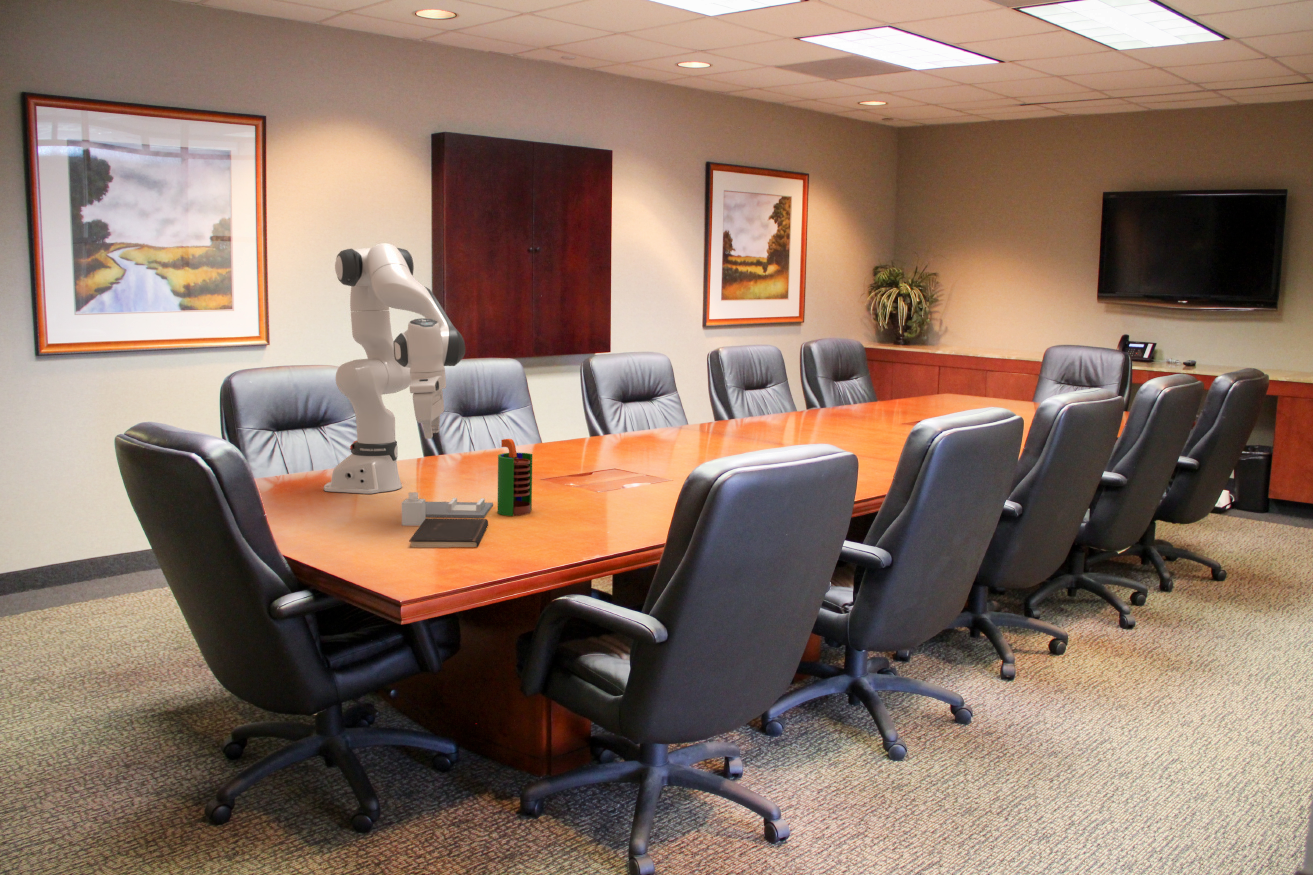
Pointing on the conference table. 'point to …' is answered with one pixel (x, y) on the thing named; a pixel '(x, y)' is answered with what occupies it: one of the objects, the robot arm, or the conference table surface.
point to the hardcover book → (449, 533)
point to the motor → (514, 481)
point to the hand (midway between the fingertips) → (432, 435)
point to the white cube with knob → (413, 510)
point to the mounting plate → (457, 509)
